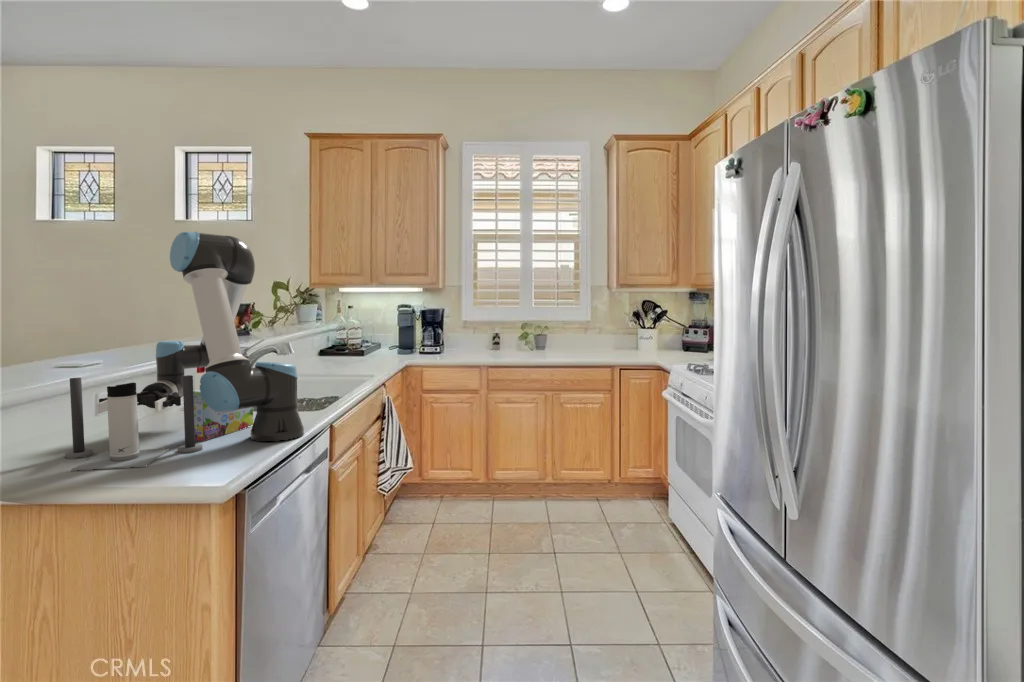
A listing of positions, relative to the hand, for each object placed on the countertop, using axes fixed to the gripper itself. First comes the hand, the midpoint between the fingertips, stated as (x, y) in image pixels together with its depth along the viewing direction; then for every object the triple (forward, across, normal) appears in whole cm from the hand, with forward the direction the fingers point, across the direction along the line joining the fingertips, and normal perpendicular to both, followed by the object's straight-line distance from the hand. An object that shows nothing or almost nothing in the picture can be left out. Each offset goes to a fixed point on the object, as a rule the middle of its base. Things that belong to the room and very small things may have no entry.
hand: (128, 407), depth 144 cm
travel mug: (+4, -1, -13) cm, 13 cm away
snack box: (-22, -18, -13) cm, 31 cm away
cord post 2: (-2, -14, -13) cm, 19 cm away
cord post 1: (-3, +13, -13) cm, 19 cm away
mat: (+4, 0, -13) cm, 14 cm away
